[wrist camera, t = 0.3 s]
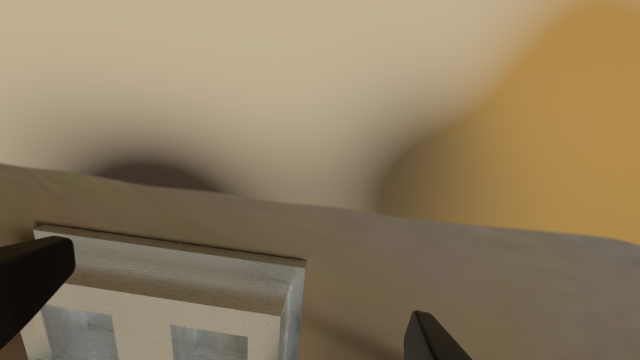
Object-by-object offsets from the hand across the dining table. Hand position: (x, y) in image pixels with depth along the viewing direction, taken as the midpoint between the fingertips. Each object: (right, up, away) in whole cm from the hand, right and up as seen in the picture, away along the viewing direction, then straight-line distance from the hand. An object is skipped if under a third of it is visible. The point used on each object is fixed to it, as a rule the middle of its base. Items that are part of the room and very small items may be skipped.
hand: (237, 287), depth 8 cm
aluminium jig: (-10, -8, +19) cm, 24 cm away
